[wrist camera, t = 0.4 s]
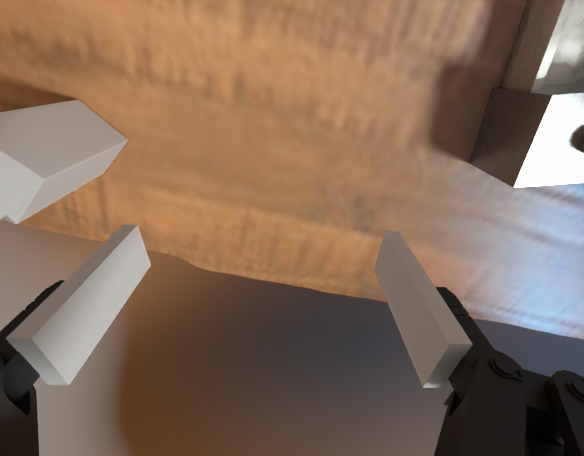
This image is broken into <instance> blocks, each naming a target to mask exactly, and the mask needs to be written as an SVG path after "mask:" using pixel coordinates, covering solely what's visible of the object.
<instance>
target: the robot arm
mask: <svg viewBox="0 0 584 456" xmlns="http://www.w3.org/2000/svg"><path fill="white" fill-rule="evenodd" d="M150 266H151V264H150V261H149V258H148V255H147V252H146V249H145V246H144V243H143V240H142V237H141V234H140V231H139V228H138V225H122V226H121V227H120V228H119V229H118V230H116V231H115V232H114V233H113V234H112V235H111V236H110V237H109V238H108V239H107V240H106V241H105V242H104V243H103V244H102V245H101V246H100V247H99V248H98V249H97V250H96V251H95V252H94V253H93V254H92V255H91V256H90V257H89V258H88V259H87V260H86V261H85V262H84V263H83V264H82V265H80V267H78V268H77V269H76V270H75V271H74V272H73V273H72V274H71V275H70V276H69V277H68V278H67V279H66V280H65V281H63V280H62V281H61V280H60V281H58V282H57V283H55V284H53V285H52V286H50V287H49V288H47V289H45V290H44V291H43V292H42V293H41V294H40V295H39V296H38V297H37V298H36V299H35V301H34V302H31V303H30V304H29V305H28V306H27V307H26V309H25V310H23V311H22V312H21V313H20V314H19V315H17V317H15V318H14V319H13V320H12V321H11V322H10V323H9V324H8V325H7V326H6V327H5V328H4V329H2V330H1V331H0V456H39V442H38V420H37V398H36V390H35V388H34V386H33V384H34V383H35V381H36V380H37V379H38V378H39V376H40V377H41V378H42V379H43V380H44V381H45V382H46V383H47V385H69V384H70V383H71V382H72V380H73V379H74V377H75V376H76V374H77V373H78V371H79V370H80V368H81V367H82V366H83V364H84V363H85V361H86V360H87V358H88V356H89V355H90V354H91V352H92V350H93V349H94V348H95V346H96V345H97V343H98V342H99V341H100V339H101V338H102V336H103V335H104V333H105V332H106V330H107V329H108V327H109V326H110V324H111V323H112V322H113V320H114V319H115V317H116V316H117V314H118V313H119V311H120V310H121V308H122V307H123V305H124V304H125V302H126V301H127V300H128V298H129V297H130V295H131V294H132V292H133V291H134V289H135V288H136V286H137V285H138V283H139V282H140V280H141V279H142V277H143V276H144V274H145V273H146V272H147V270H148V268H149V267H150ZM374 271H375V273H376V275H377V278H378V280H379V283H380V285H381V287H382V290H383V292H384V295H385V297H386V300H387V302H388V304H389V307H390V309H391V312H392V314H393V316H394V319H395V321H396V324H397V326H398V328H399V331H400V333H401V335H402V338H403V340H404V343H405V345H406V348H407V350H408V352H409V355H410V357H411V360H412V362H413V365H414V367H415V369H416V372H417V374H418V376H419V379H420V381H421V384H422V386H423V388H443V387H444V385H445V384H446V382H447V381H448V380H449V381H450V383H451V385H452V387H453V388H454V390H453V392H452V393H451V394H450V396H449V397H448V398H447V400H446V401H445V403H444V404H445V405H446V406H447V405H448V407H447V410H446V414H445V418H444V421H443V425H442V428H441V432H440V436H439V439H438V443H437V446H436V450H435V454H434V456H584V377H582V376H580V375H578V374H576V373H573V372H569V371H565V370H561V371H557V372H555V374H553V375H552V376H551V377H548V376H544V375H541V374H538V373H534V372H531V371H528V370H524V369H522V368H521V366H520V365H519V364H517V363H516V362H515V361H514V360H513V359H512V358H510V357H509V356H507V355H505V354H504V353H501V352H499V351H496V350H494V348H493V347H492V346H491V345H490V343H489V342H488V340H487V339H486V337H485V336H484V335H483V333H482V332H481V330H480V329H479V328H478V326H477V325H476V323H475V322H474V321H473V319H472V318H471V317H469V314H468V312H467V311H466V310H465V308H463V305H462V304H461V303H460V301H459V300H458V298H457V297H456V296H455V295H454V294H453V293H451V292H450V291H449V290H448V289H447V288H445V287H435V286H434V284H433V283H432V281H431V280H430V278H429V277H428V275H427V274H426V272H425V271H424V269H423V268H422V266H421V265H420V263H419V262H418V260H417V259H416V257H415V255H414V254H413V252H412V251H411V249H410V248H409V246H408V245H407V243H406V242H405V240H404V239H403V237H402V236H401V234H400V233H399V232H391V231H385V233H384V236H383V240H382V244H381V247H380V251H379V255H378V258H377V262H376V265H375V269H374Z"/></svg>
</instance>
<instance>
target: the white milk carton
mask: <svg viewBox="0 0 584 456" xmlns="http://www.w3.org/2000/svg"><path fill="white" fill-rule="evenodd" d="M127 141H128V140H127V139H126V138H125V137H124V136H123V135H121V134H120V133H119V132H118V131H117V130H115V129H114V128H113V127H112V126H110V125H109V124H108V123H107V122H105V121H104V120H103V119H102V118H101V117H99V116H98V115H97V114H96V113H94V112H93V111H92V110H91V109H89V108H88V107H87V106H86V105H85V104H83V103H82V102H81V101H79V100H71V101H65V102H59V103H53V104H47V105H41V106H35V107H29V108H23V109H16V110H10V111H4V112H0V220H1V219H2V220H5V221H8V222H11V223H14V224H18V223H20V222H21V221H23V220H25V219H26V218H28V217H30V216H32V215H33V214H35V213H37V212H38V211H40V210H42V209H44V208H45V207H47V206H49V205H50V204H52V203H54V202H56V201H57V200H59V199H61V198H62V197H64V196H66V195H67V194H69V193H71V192H73V191H74V190H76V189H78V188H79V187H81V186H83V185H85V184H86V183H88V182H90V181H91V180H93V179H95V178H96V177H98V176H100V175H102V174H103V173H105V171H106V170H107V168H108V167H109V166H110V164H111V163H112V162H113V160H114V159H115V158H116V156H117V155H118V154H119V152H120V151H121V149H122V148H123V147H124V145H125V144H126V143H127Z"/></svg>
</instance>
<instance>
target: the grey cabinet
mask: <svg viewBox="0 0 584 456" xmlns="http://www.w3.org/2000/svg"><path fill="white" fill-rule="evenodd" d="M470 164H471V165H473V166H475V167H477V168H479V169H481V170H482V171H484V172H486V173H488V174H490V175H492V176H493V177H495V178H497V179H499V180H501V181H503V182H504V183H506V184H508V185H510V186H512V187H514V188H515V187H530V186H545V185H559V184H574V183H584V0H528V2H527V6H526V9H525V12H524V15H523V18H522V21H521V24H520V28H519V31H518V34H517V37H516V40H515V43H514V46H513V50H512V53H511V56H510V59H509V62H508V65H507V68H506V72H505V75H504V78H503V81H502V84H501V87H500V88H492V92H491V95H490V98H489V101H488V105H487V108H486V111H485V115H484V118H483V121H482V124H481V128H480V131H479V134H478V138H477V141H476V144H475V147H474V151H473V154H472V157H471V161H470Z"/></svg>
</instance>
